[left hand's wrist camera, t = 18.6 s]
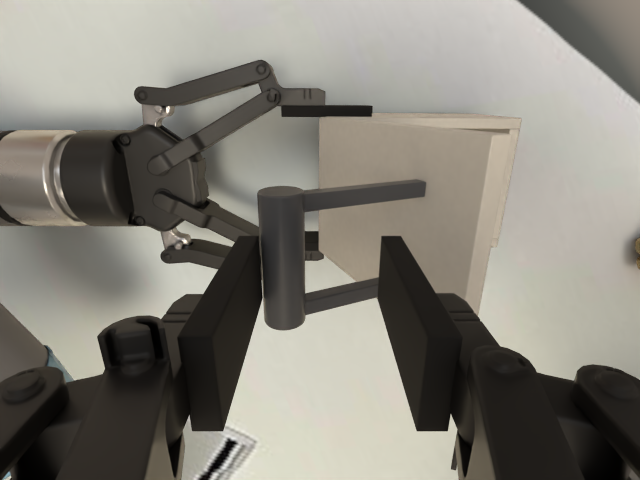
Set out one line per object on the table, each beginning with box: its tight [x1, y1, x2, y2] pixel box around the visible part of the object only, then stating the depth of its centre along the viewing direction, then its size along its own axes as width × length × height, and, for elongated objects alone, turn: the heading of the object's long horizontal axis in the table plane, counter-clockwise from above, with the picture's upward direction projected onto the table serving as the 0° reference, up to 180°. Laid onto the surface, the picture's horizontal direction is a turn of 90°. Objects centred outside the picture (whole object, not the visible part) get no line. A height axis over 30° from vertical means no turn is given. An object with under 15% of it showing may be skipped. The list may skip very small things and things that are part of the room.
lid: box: [257, 117, 512, 330], centre depth 19 cm, size 14×10×8 cm
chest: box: [326, 113, 522, 247], centre depth 32 cm, size 14×10×9 cm
